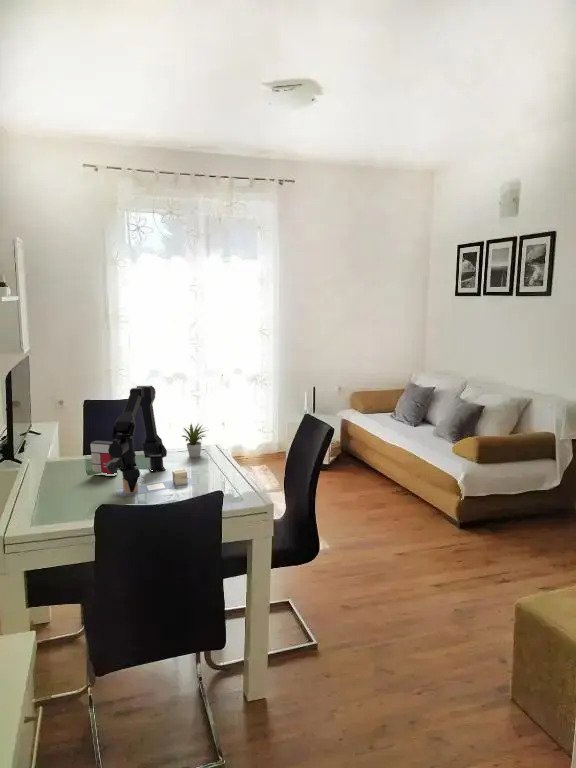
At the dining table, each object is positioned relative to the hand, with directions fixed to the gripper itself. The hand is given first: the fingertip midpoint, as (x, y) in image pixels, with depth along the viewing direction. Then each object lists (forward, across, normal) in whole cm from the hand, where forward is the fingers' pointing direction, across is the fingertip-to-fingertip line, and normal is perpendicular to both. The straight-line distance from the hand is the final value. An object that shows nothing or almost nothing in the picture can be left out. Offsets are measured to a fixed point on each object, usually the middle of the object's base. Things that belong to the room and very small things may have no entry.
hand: (130, 488), depth 233 cm
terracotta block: (+1, 0, 0) cm, 1 cm away
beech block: (+1, 0, +20) cm, 20 cm away
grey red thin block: (+2, -30, -7) cm, 31 cm away
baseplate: (+2, 0, +10) cm, 10 cm away
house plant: (+2, -38, +35) cm, 52 cm away
